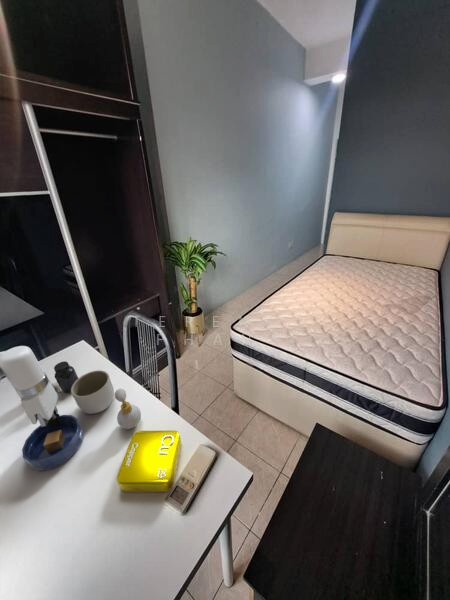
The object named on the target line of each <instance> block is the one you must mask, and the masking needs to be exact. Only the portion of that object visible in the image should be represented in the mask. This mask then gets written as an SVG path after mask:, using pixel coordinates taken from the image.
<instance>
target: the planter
mask: <svg viewBox="0 0 450 600" xmlns="http://www.w3.org/2000/svg"><path fill="white" fill-rule="evenodd" d="M70 394H71V395H72V397H73V399H74V401H75V403H76V404H77V407H78V408H79V410H81V411H82V412H83V413H85V414H89V415H93V414H94V415H95V414H99V413H101V412H103V411H105V410H106V409H108V407H109V406H110V405H111V404H112V403H113V400H114V399H115V390H114V386H113V383H112V380H111V378H110V375H109V373H108V372H107V371H105V370H92V371H88V372H87V373H84V374H82V375H81V376H79V377H78V379H77V380H76V381H75V382H74V384H73V385H72V387H71V393H70Z"/></svg>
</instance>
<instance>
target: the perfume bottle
mask: <svg viewBox="0 0 450 600" xmlns="http://www.w3.org/2000/svg"><path fill="white" fill-rule="evenodd" d="M114 399H115V400H116V401H117V402H119V403H121V405H120V410H119V412H118V413H117V417H116V420H117V424H118V425H119V427H121V428H122V429H125V430H130V429H133V428H135V427H136V426H137V425H138V424H139V423H140V421H141V417H142V413H141V412H142V411H141V410H140V408H139V407H138V406H137V405H135V404H131V403H130V402H129V401H126V399H127V392H126V390H125V389H124V388H118V389H116V390H115V391H114Z"/></svg>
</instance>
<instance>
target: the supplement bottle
mask: <svg viewBox="0 0 450 600" xmlns="http://www.w3.org/2000/svg"><path fill="white" fill-rule="evenodd" d="M53 370H54V379H55V382H57V383H58V384H59V386H60V391H61V392H62V393H63V394H72V393H71V387H72V385H73V384H74V382H75V381H76V380H77V379H78V378H79V376H78V374H77V371H76V369H75V368H74V367H73V366H72V365H70V364H69V362H68V361H60V362H58V363H57V364H55V365H54V366H53Z"/></svg>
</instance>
